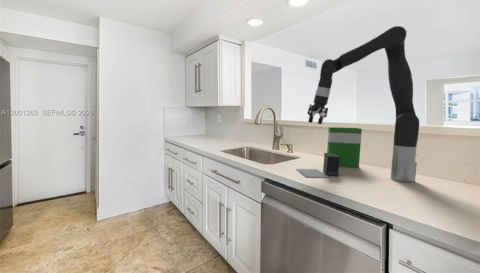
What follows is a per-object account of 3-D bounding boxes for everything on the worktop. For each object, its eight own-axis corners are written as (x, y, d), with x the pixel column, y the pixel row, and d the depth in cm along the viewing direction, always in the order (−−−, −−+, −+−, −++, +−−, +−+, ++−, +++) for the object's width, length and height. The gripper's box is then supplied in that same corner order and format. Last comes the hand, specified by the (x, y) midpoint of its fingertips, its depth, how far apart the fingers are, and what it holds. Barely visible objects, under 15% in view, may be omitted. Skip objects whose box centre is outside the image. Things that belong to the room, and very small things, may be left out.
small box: (339, 176, 116) (340, 156, 114) (325, 175, 117) (327, 156, 116) (334, 171, 126) (335, 153, 125) (322, 170, 127) (323, 152, 126)
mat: (316, 169, 129) (316, 169, 129) (329, 177, 113) (329, 176, 113) (296, 169, 128) (296, 169, 128) (306, 177, 112) (306, 176, 112)
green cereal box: (355, 165, 143) (358, 127, 141) (358, 167, 136) (361, 128, 133) (326, 163, 147) (328, 127, 145) (328, 165, 140) (330, 127, 138)
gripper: (319, 94, 121) (312, 123, 124) (334, 98, 129) (327, 125, 132) (308, 93, 128) (302, 120, 131) (324, 97, 135) (317, 123, 138)
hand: (314, 123), depth 131 cm, fingers open, 8 cm apart
